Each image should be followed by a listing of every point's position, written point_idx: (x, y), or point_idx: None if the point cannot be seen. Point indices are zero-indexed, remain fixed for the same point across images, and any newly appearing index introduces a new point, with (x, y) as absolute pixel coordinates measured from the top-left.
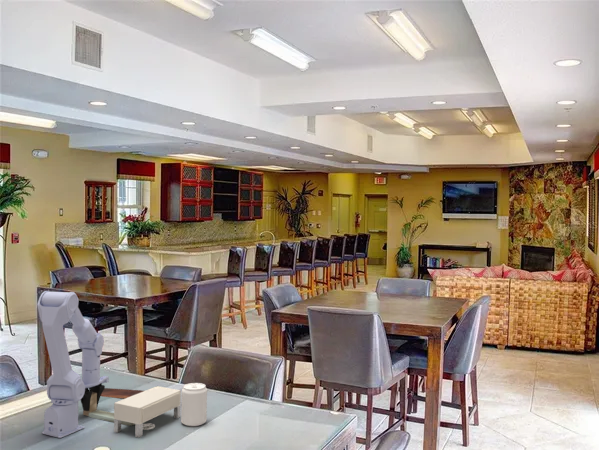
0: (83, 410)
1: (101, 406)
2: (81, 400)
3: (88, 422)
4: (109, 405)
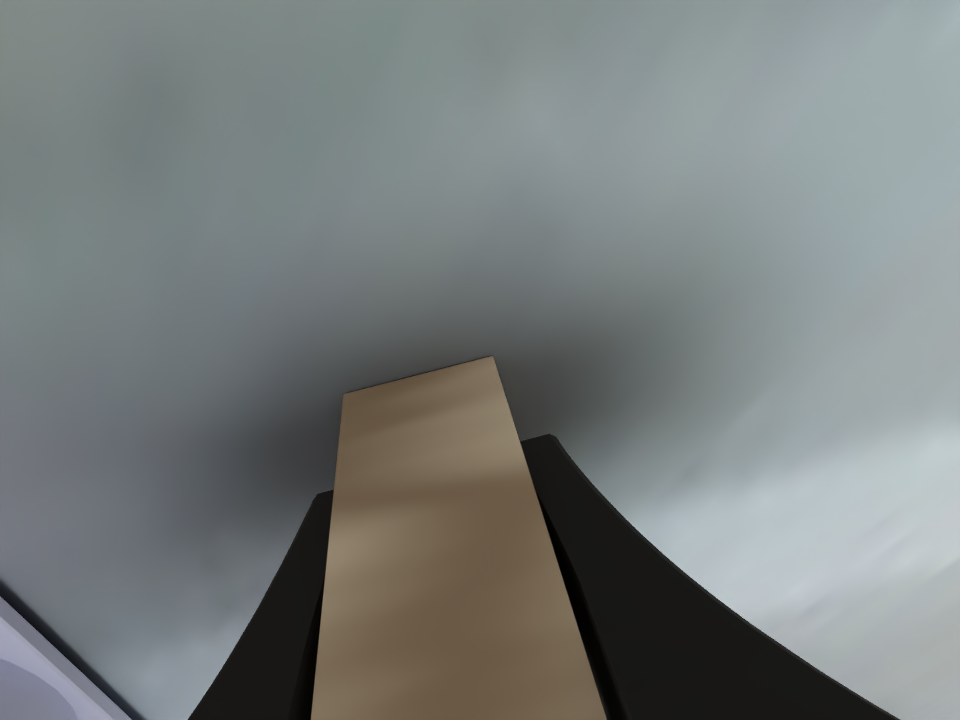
0: (341, 448)
1: (805, 229)
2: (231, 694)
3: None
4: (896, 281)
